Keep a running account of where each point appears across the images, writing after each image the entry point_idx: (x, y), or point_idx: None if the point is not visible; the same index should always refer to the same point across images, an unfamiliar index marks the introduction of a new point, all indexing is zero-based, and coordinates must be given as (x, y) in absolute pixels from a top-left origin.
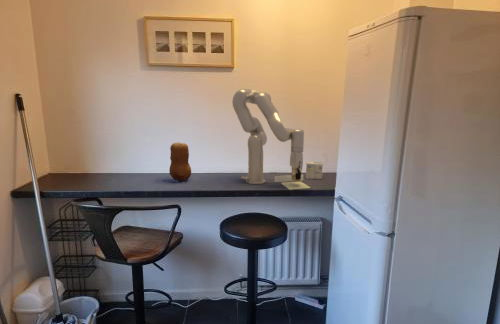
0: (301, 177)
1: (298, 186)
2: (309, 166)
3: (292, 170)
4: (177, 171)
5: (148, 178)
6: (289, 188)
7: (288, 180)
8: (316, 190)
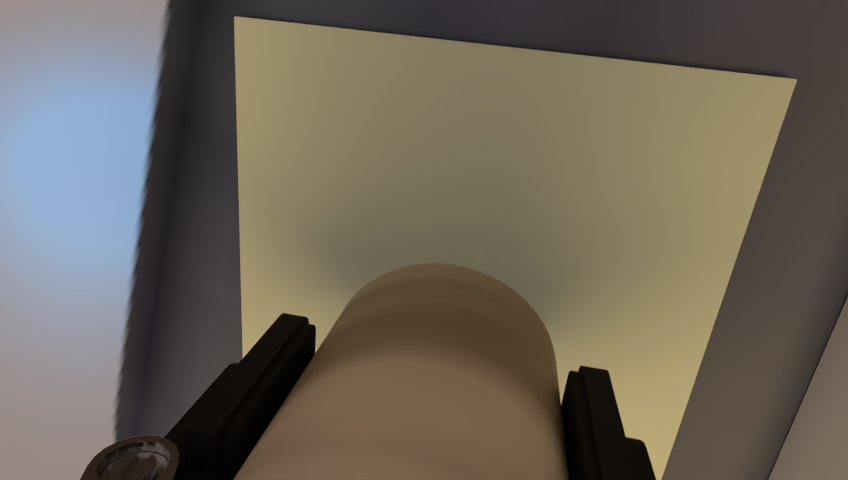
0: None
1: None
2: None
3: (388, 468)
4: None
5: None
6: (271, 46)
7: (844, 346)
8: (131, 434)
